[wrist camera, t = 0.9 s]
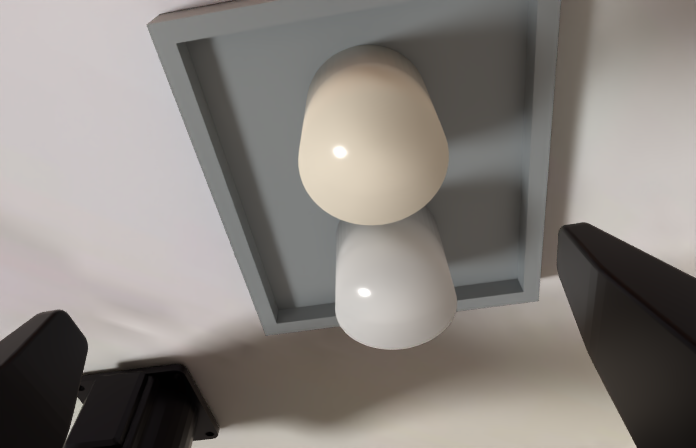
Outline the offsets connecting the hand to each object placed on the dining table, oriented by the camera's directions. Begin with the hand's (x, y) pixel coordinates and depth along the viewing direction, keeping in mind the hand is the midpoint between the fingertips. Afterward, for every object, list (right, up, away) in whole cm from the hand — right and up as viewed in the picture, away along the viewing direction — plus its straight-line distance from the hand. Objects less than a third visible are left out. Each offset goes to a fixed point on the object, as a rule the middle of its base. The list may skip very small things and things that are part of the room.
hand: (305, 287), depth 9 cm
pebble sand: (+1, +5, +9) cm, 11 cm away
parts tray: (+2, +3, +11) cm, 12 cm away
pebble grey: (+2, +1, +13) cm, 13 cm away
